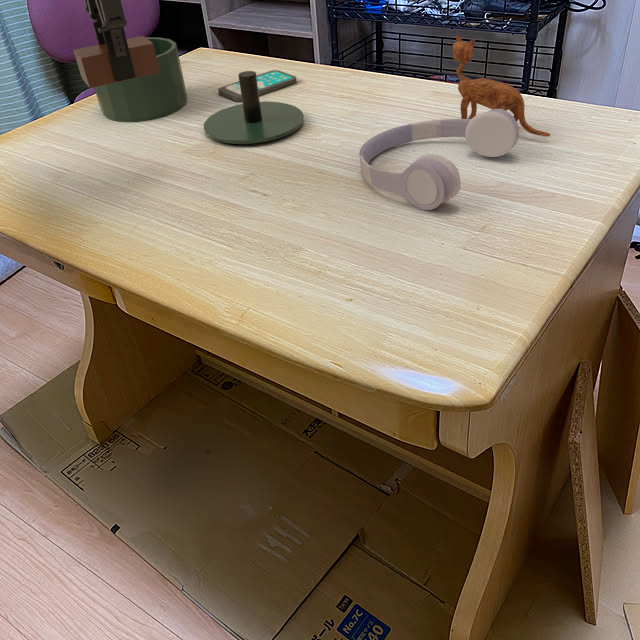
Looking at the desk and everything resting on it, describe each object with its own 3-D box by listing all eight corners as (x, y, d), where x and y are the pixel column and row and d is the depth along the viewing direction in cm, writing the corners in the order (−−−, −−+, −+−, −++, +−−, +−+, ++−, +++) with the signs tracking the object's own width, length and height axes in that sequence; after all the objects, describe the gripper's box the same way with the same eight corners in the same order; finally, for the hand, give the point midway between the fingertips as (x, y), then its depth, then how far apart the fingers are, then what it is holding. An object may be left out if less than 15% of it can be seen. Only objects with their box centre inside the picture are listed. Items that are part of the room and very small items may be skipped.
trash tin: (114, 129, 115) (98, 70, 108) (94, 103, 127) (77, 49, 120) (199, 107, 121) (187, 50, 114) (171, 85, 132) (160, 32, 126)
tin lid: (227, 156, 102) (217, 100, 96) (190, 123, 114) (180, 72, 109) (322, 129, 108) (318, 75, 102) (277, 100, 120) (271, 50, 115)
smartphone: (214, 87, 125) (274, 68, 132) (215, 92, 126) (275, 73, 133) (238, 97, 120) (299, 76, 127) (238, 102, 121) (299, 81, 127)
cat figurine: (557, 135, 99) (573, 45, 90) (539, 151, 95) (554, 58, 87) (458, 114, 109) (464, 30, 100) (438, 127, 105) (442, 41, 96)
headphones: (524, 154, 94) (412, 135, 106) (527, 107, 90) (410, 93, 101) (448, 217, 82) (330, 189, 93) (448, 167, 77) (324, 143, 89)
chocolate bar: (89, 88, 85) (80, 58, 83) (82, 79, 89) (73, 49, 86) (159, 72, 89) (153, 43, 86) (149, 64, 92) (143, 35, 90)
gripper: (118, -128, 69) (165, 85, 84) (83, -132, 81) (129, 54, 96) (49, -121, 66) (109, 97, 81) (24, -126, 79) (80, 64, 94)
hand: (120, 73), depth 89 cm, fingers closed on chocolate bar, 5 cm apart
